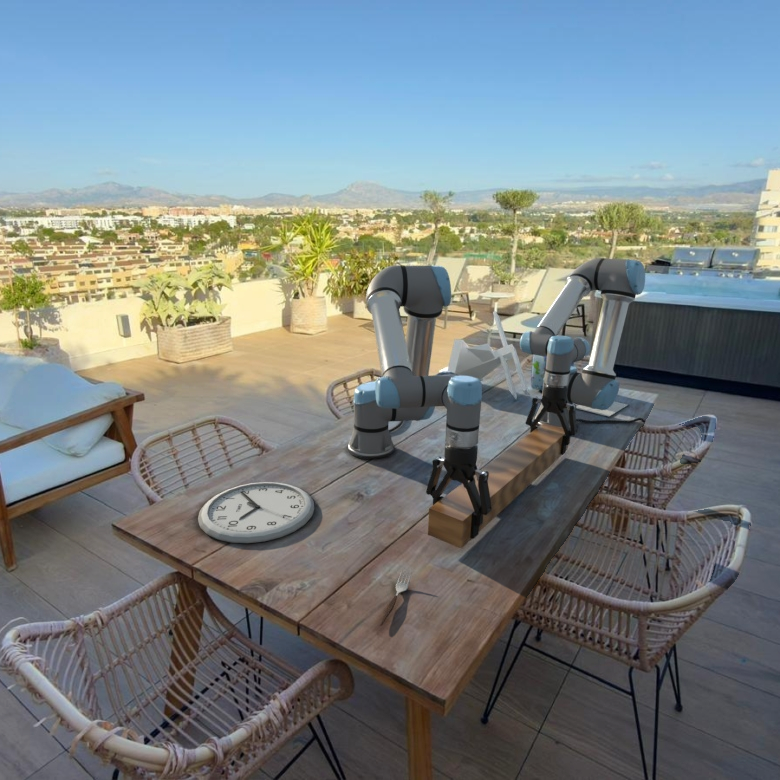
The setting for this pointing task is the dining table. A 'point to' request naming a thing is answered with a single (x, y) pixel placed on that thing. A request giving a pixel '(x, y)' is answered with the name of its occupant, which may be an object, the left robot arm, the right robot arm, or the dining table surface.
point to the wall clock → (256, 512)
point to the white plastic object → (485, 360)
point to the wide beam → (496, 484)
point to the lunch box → (538, 371)
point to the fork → (400, 588)
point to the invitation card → (608, 412)
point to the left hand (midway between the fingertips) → (456, 528)
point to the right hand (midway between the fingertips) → (548, 449)
